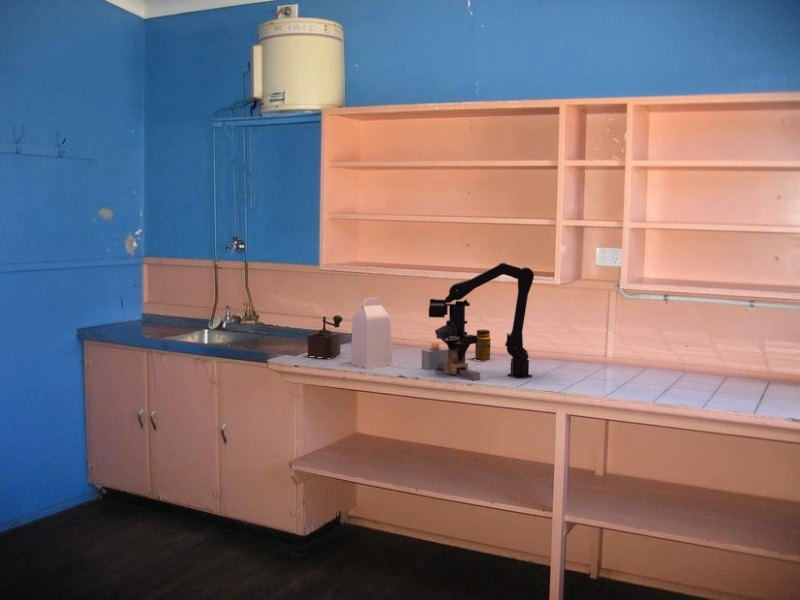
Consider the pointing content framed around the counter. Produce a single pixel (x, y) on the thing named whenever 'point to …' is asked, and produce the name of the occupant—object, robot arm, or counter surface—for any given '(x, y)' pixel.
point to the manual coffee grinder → (325, 341)
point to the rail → (462, 372)
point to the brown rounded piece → (434, 346)
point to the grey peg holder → (434, 358)
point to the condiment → (482, 346)
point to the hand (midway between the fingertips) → (456, 360)
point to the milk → (371, 335)
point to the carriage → (454, 362)
